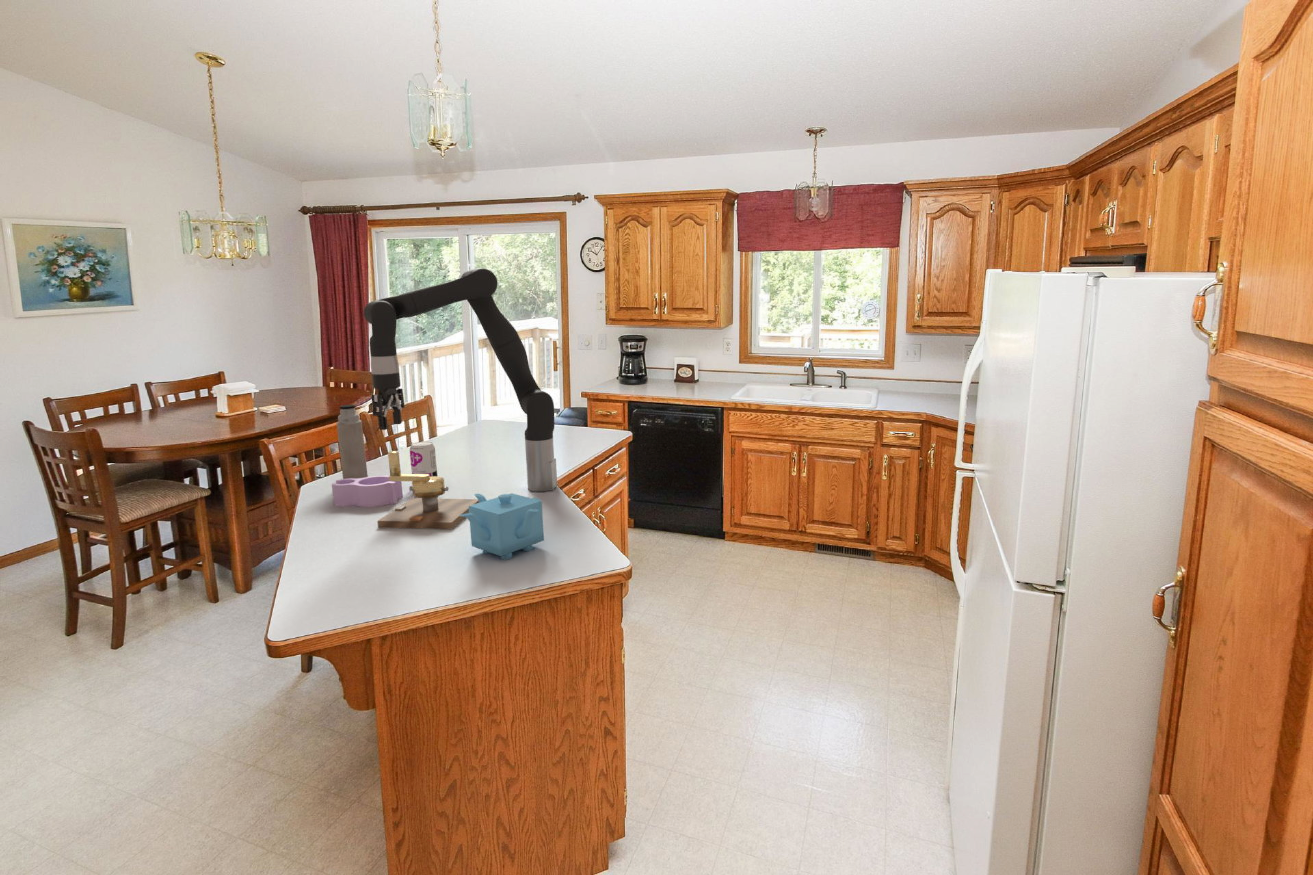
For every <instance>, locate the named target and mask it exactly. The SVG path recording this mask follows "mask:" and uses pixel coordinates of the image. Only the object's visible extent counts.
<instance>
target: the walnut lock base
mask: <svg viewBox="0 0 1313 875" xmlns="http://www.w3.org/2000/svg"><path fill="white" fill-rule="evenodd" d="M477 503H479V500H478V499H477V498H475V499H473V498H439V496H436V497H431V498H418V497H412V498H411V499H409V500H407V501H406V502H404V503H403V504H401V505H398V506H396V507H395V508H394V510H391V512H389V513H388V514H387V513H386V515H384V516H382V517H381V518H380V519H378V520H377V528H379V529H380V528H384V529H385V528H387V529H388V528H390V529H424V530H426V529H427V530H430V529H431V530H453V529H454V528H455V527H456V526H458V525H459V524H460V523H461V522H462V521H463V520H465V519H467V518H466V517H462V516H460V515H462V514H466V513H469V506H471V505H474V504H477Z"/></svg>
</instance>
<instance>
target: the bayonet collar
mask: <svg viewBox="0 0 1313 875" xmlns="http://www.w3.org/2000/svg"><path fill="white" fill-rule="evenodd" d="M387 456H388V457H387V459H388V467H389V475H388V476H389V481H401V482H411V484H412V486H409V487H408V488H409V491H412V494H413V498H431V497H436V496H437V497H440V496H442V495H444V494H445V493H446V492H449V486H445V477H443V476H438V475H437V476H438V477H437V476H431V477H430V475H429V474H412V473H408V474H407V473H401V472H402V471H401V463H400V462H401V461H400V460H401V459H400V452H399V451H398V450H392V451H388V452H387Z"/></svg>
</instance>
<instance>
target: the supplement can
mask: <svg viewBox="0 0 1313 875" xmlns="http://www.w3.org/2000/svg"><path fill="white" fill-rule="evenodd" d="M433 443H434V442H432V441H417V442H412V443H411V444H410V447H409V459H410V468H411V474H429V475H430V477H431V476H437V477H439V475H438V467H437V466H438V465H437V455H436V447H435V444H433Z"/></svg>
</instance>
